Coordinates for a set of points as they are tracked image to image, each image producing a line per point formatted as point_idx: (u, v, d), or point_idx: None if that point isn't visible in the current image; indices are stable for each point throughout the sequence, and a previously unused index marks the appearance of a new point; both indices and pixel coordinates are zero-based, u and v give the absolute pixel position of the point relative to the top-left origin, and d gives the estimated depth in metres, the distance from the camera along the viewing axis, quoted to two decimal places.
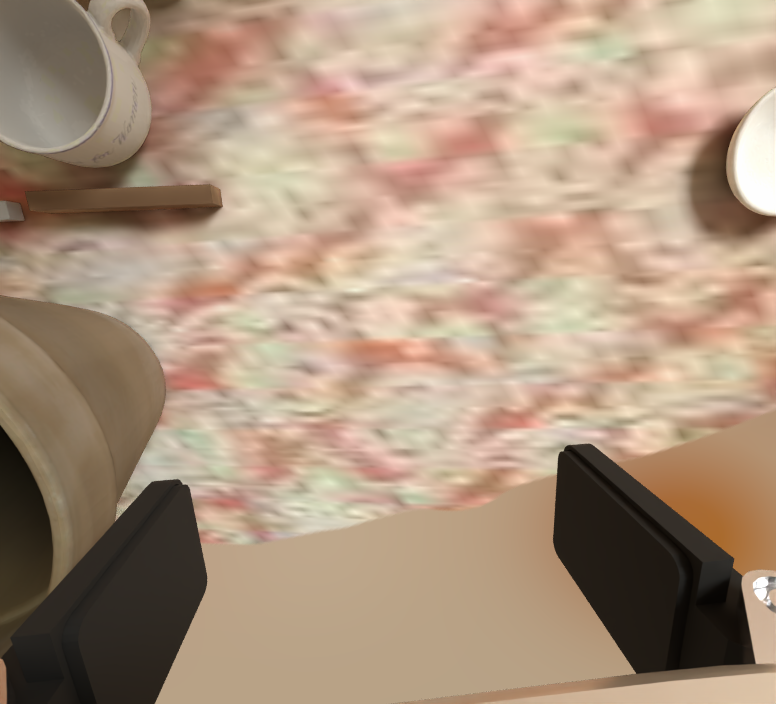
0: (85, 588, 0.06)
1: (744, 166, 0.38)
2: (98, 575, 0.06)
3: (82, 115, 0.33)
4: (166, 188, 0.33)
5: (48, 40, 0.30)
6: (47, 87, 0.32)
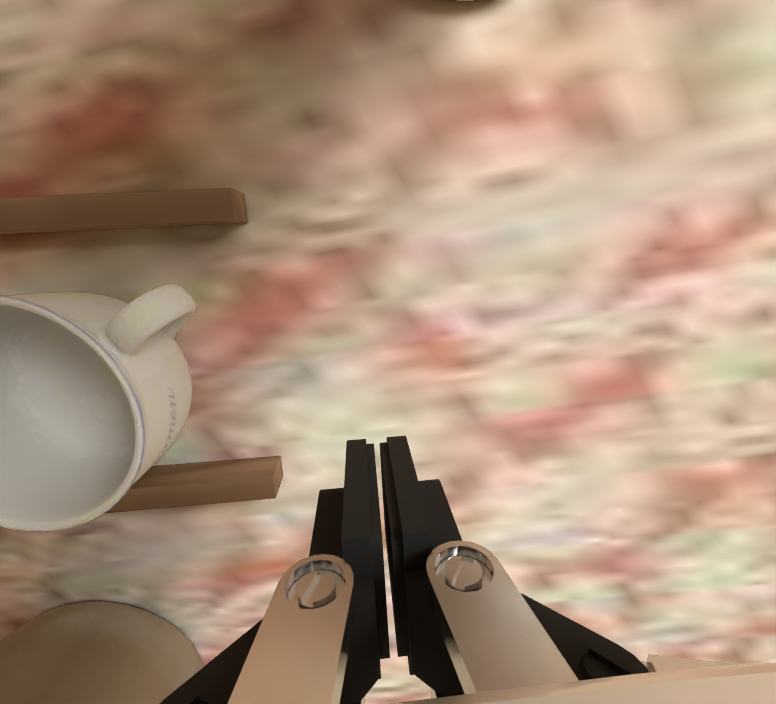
0: (369, 510, 0.07)
1: None
2: (368, 502, 0.08)
3: (94, 388, 0.23)
4: (212, 484, 0.24)
5: None
6: (44, 359, 0.22)
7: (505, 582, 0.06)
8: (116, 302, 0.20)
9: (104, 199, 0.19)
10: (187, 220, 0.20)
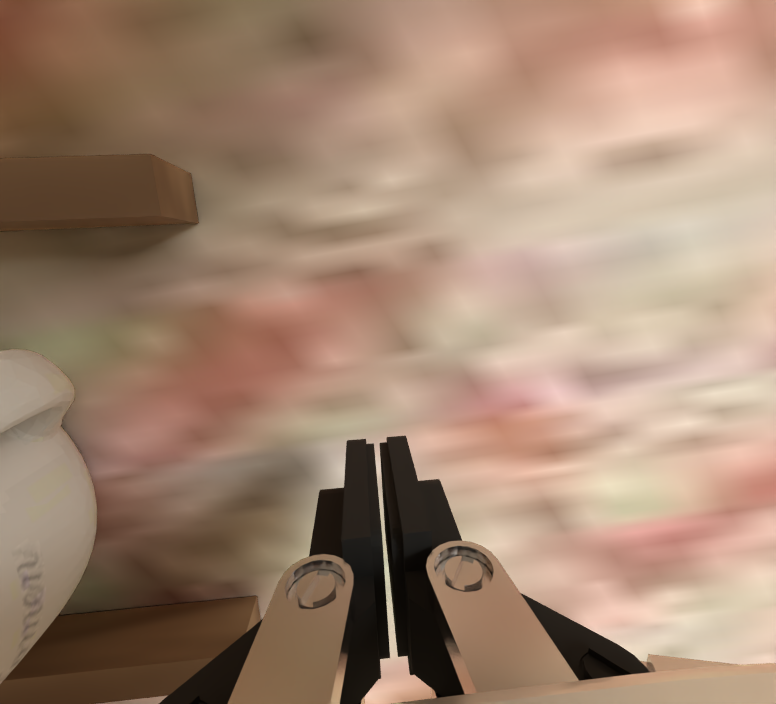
0: (369, 510, 0.07)
1: None
2: (368, 502, 0.08)
3: None
4: (135, 670, 0.14)
5: None
6: None
7: (505, 582, 0.06)
8: None
9: None
10: (69, 216, 0.10)
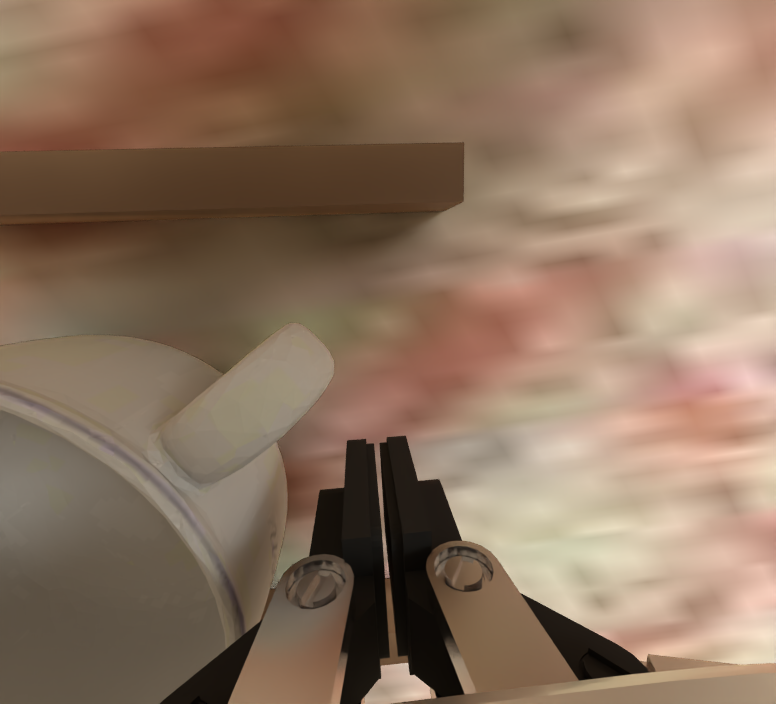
0: (369, 510, 0.07)
1: None
2: (368, 502, 0.08)
3: (117, 488, 0.14)
4: None
5: None
6: (32, 445, 0.13)
7: (505, 582, 0.06)
8: (164, 353, 0.11)
9: (234, 158, 0.10)
10: (379, 201, 0.11)
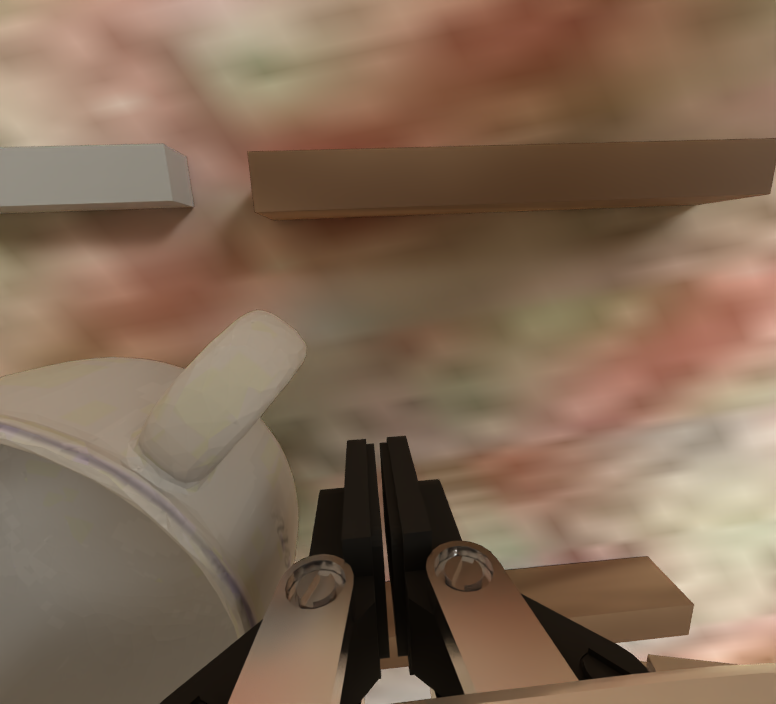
0: (369, 510, 0.07)
1: None
2: (368, 502, 0.08)
3: (133, 509, 0.14)
4: (603, 617, 0.15)
5: None
6: (44, 480, 0.13)
7: (505, 582, 0.06)
8: (146, 367, 0.11)
9: (574, 154, 0.11)
10: (695, 194, 0.11)
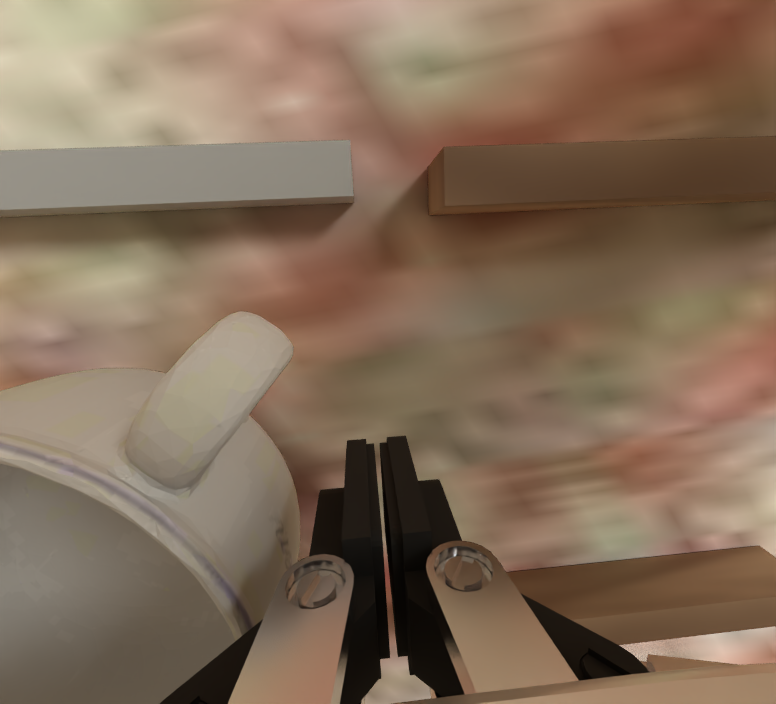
0: (369, 510, 0.07)
1: None
2: (368, 502, 0.08)
3: None
4: (735, 604, 0.15)
5: None
6: (46, 494, 0.13)
7: (505, 582, 0.06)
8: (137, 376, 0.11)
9: (751, 147, 0.11)
10: None
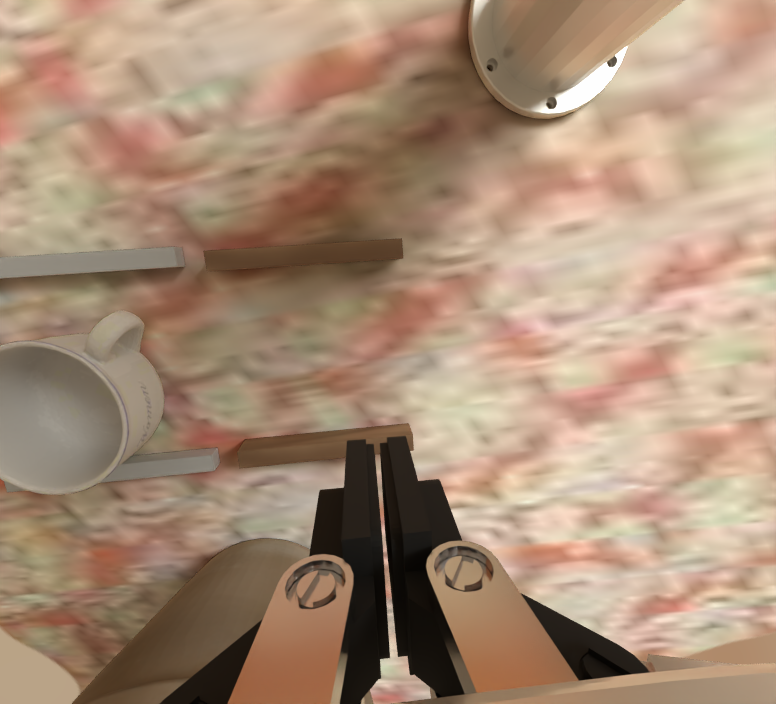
0: (369, 510, 0.07)
1: None
2: (368, 502, 0.08)
3: (97, 402, 0.32)
4: (371, 440, 0.34)
5: (49, 354, 0.30)
6: (58, 390, 0.32)
7: (505, 582, 0.06)
8: None
9: (323, 247, 0.30)
10: (373, 259, 0.30)
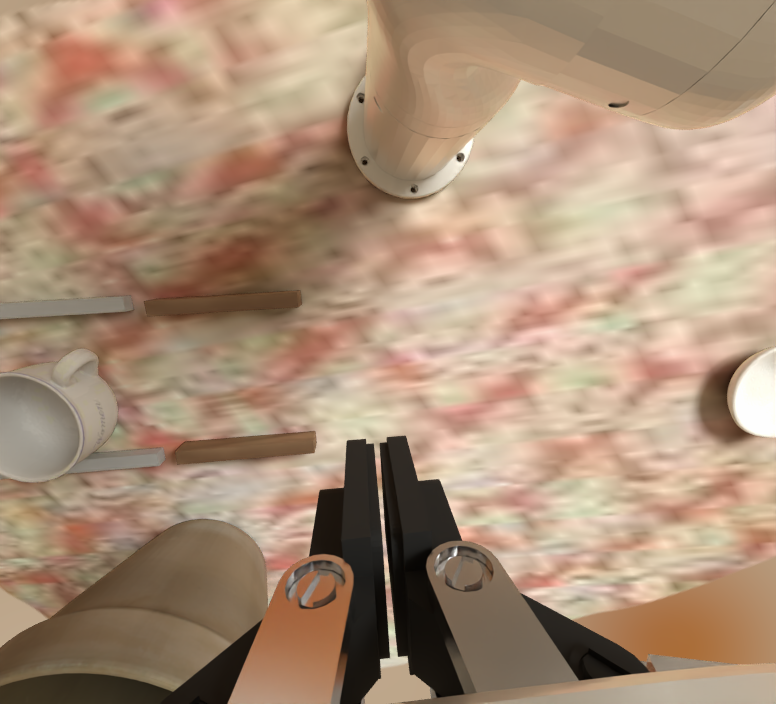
0: (369, 510, 0.07)
1: (741, 392, 0.48)
2: (368, 502, 0.08)
3: (67, 412, 0.42)
4: (280, 445, 0.43)
5: None
6: (37, 402, 0.41)
7: (505, 582, 0.06)
8: None
9: (235, 298, 0.39)
10: (275, 307, 0.40)
